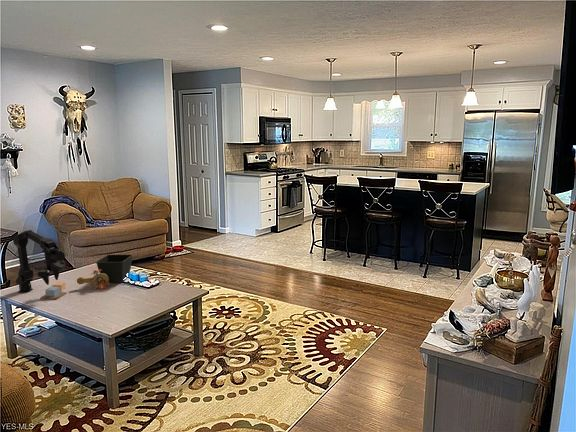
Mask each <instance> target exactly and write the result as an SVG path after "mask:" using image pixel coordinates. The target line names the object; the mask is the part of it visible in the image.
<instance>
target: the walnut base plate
mask: <svg viewBox="0 0 576 432" xmlns="http://www.w3.org/2000/svg"><path fill="white" fill-rule="evenodd" d="M60 292H61V293H60V294H59V295H57V296H55V297H50V296H46V294H44V295H42V296H41V297H39V300H50V299H53V300H54V301H55V300H56V301H57V300H58V299H60V298H61V297H62V298H63V296H65V295H67V291H60ZM53 300H52V301H53Z"/></svg>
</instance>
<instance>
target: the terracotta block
mask: <svg viewBox="0 0 576 432" xmlns="http://www.w3.org/2000/svg"><path fill="white" fill-rule="evenodd" d="M66 284H67V283H66V282H65V281H62V282H61V281H57V282H54V283H53V284H51V287H60V292H64V290H65V289H66V288H67V285H66Z"/></svg>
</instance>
